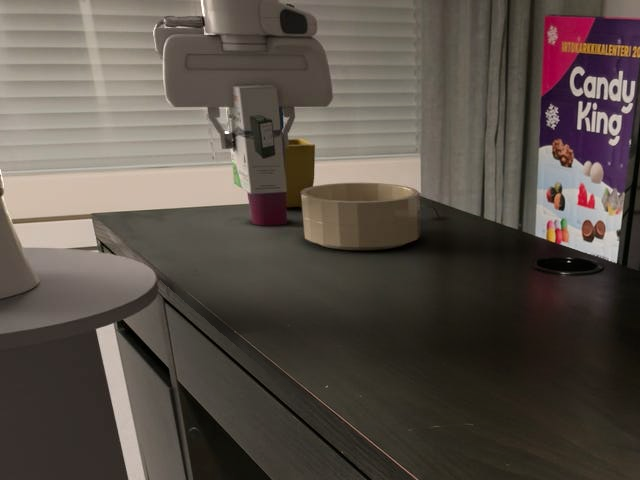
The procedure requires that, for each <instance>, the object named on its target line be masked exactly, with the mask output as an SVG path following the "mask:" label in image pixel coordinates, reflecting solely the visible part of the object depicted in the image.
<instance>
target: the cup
mask: <svg viewBox="0 0 640 480" xmlns="http://www.w3.org/2000/svg"><path fill="white" fill-rule="evenodd" d="M279 117H280V128H281V131H282V129H283V127H284V125H285V121H284V115H283V107H279ZM282 149H283V159H284V169H285V150H284V148H282ZM285 179H286V178H285ZM246 193H247V201H248V205H249V206H248V207H249V212H250V217H251V222H252V224H253V225H257V226H269V227H270V226H281V225H285V224H287V223H288V210H287V208H288V207H287V205H286V192H276V193H262V194H250V193H248V192H247V191H246Z"/></svg>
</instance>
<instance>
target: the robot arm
mask: <svg viewBox="0 0 640 480" xmlns="http://www.w3.org/2000/svg"><path fill="white" fill-rule="evenodd" d="M200 3H201V10H202V15H189V16H188V15H187V16H175V15H165V16H164V17H163V19H161V20H159V21H158V22H156V24H155V25H154V28H153V32H152V33H153V34H152V35H153V42H154V48H155V49H154V50H155V52H156V54H157V56H158V57H159V59H161V60H162V79H163V89H164V97H165V100H166V101H167V102H168V103H169V105H170V106H172V107H173V108H207V116H208V119H209V121H210V122H211V124H212V125H213V127H214V129H215V130H216V132H217V133H218V134H219V137H220V138H219V139H220V147H221V150H231V149H234V146H233V141H232V132H228V131H226V130H225V129H224V127H223V126H222V124H221V122H220V121H219V118H220V117H221V111H220V108H226V107H234V101H233V89H232V87H233V86H240V85H262V84H273V85H275V86H276V88H277V96H278V106H279V107H283V118H286V120H285V121H284V127H283V129H282V131H281V139H282V148H289V141H288V139H289V134H290V131H291V129H292V126H293V124H294V121H295V119H296V112H295V111H296V110H295V108H327V107H329V105H330V104H331V102H332V101H333V99H334V94H333V85H332V77H331V72H330V71H331V70H330V66H329V61H328V57H327V53H326V50H325V48H324V46H323V45H322V43H321V42H320V41H319V40H318V39H317V38H315V37H314V36H315V35H316V34H317V32H318V21H317V17H316V16H314V15H313V14H312V13H310V12H308V11H305V10H302V9H299V8H297V7H295V5H292V4H291V3H283V2H281V1H280V0H200ZM163 25H164V27H163ZM3 178H4V177H3V174H2V169H1V168H0V299H2V298H6V297H10V296H14V295H17V294H20V293H23V292H26V291H28V290H30V289H32V288H34V287H36V286H37V285H38V284H39V282H40V280H39V278H38V276H37V274H36V273H35V271H34V269H33V267H32V265H31V264H30V262H29V260H28V258H27V256H26V253H25V251H24V249H23V245H22V242H21V241H20V238H19V235H18V233H17V231H16V228H15V224H14V223H13V220H12V218H11V215H10V212H9V209H8V205H7V204H6V200H5V197H4V194H5V189H4V188H5V183H4V179H3Z"/></svg>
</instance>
